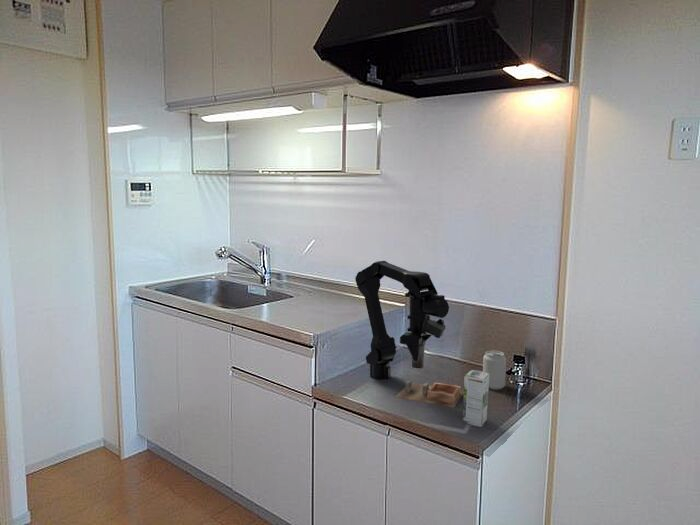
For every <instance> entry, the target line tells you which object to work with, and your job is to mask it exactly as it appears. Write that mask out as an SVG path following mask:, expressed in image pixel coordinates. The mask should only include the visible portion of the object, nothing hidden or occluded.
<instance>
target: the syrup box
mask: <svg viewBox="0 0 700 525" xmlns="http://www.w3.org/2000/svg"><path fill="white" fill-rule="evenodd" d="M463 382H464V383H463V384H464V385H463V391H464V393H463V400H462V401H463V402H462V420H461V421H464V422H466V424H467V425H469V424H470V426H473V427H474V426H475V427H479V428H482V427H483V425H484V424H485V423H486V422H487V419H488V409H489V408H488V406H489V405H488V404H489V390H490V389H489V374H488V373H485V372H483V371H480V370H474V369H472V370H470V371H468V373H466V374H465V376H464V379H463Z"/></svg>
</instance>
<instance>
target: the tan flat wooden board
mask: <svg viewBox="0 0 700 525" xmlns="http://www.w3.org/2000/svg"><path fill="white" fill-rule="evenodd" d="M463 395H464V390H461V386H460V385H459V386H458V385H454V384H453V385H452V384H447V383H441V382H440V383H439V382H434V383H433V384H432V385H430V384H429V382H424V383H423V384H422V383H416V382H413V380H410V379H408V380H407V381H405V387H404V388H402V390H401V391H399V392H398V394H396V396H395V398H397V399H398V398H400V399H405V400H411V401H416V402H422V403H426V404H432V405H437V406H444V407H448V408H449V407H450V408H455V406H456V405H457V404H458V402H459V400H460V399H461V397H462V396H463Z"/></svg>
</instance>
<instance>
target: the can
mask: <svg viewBox="0 0 700 525" xmlns="http://www.w3.org/2000/svg"><path fill="white" fill-rule="evenodd" d="M482 360H483V361H482V362H483V363H482V372H485V373H488V374H489V390H495V391H498V390H502V389H503V388H504V387H505V386H506V372H507V370H506V368H507V366H506V365H507V357H506V356H505V353H504V352H502V351H500V350H488V351H485V354H484V355H483V359H482Z"/></svg>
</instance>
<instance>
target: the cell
mask: <svg viewBox="0 0 700 525" xmlns="http://www.w3.org/2000/svg"><path fill="white" fill-rule="evenodd" d="M422 341H424V339H423V338H422ZM411 367H412V368H413V369H423V368H424V367H425V346H424V343H423V344H422V345H420V349H419V355H418V360H417V361H414V360H413V357H412V356H411Z"/></svg>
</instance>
